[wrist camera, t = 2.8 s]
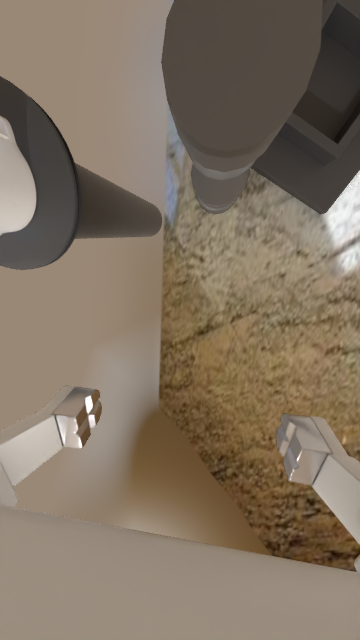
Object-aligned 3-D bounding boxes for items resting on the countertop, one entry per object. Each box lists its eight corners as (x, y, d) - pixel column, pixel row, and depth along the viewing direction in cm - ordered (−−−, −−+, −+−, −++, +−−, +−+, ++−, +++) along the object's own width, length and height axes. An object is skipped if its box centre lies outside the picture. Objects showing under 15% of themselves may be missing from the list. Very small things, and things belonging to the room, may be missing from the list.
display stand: (215, 144, 28) (216, 128, 24) (312, -51, 21) (337, -120, 17) (320, 214, 30) (338, 211, 26) (444, 54, 22) (497, 13, 18)
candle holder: (235, 214, 31) (305, 156, 8) (195, 214, 32) (157, 160, 9) (241, 164, 29) (360, -106, 6) (197, 165, 29) (151, -72, 7)
